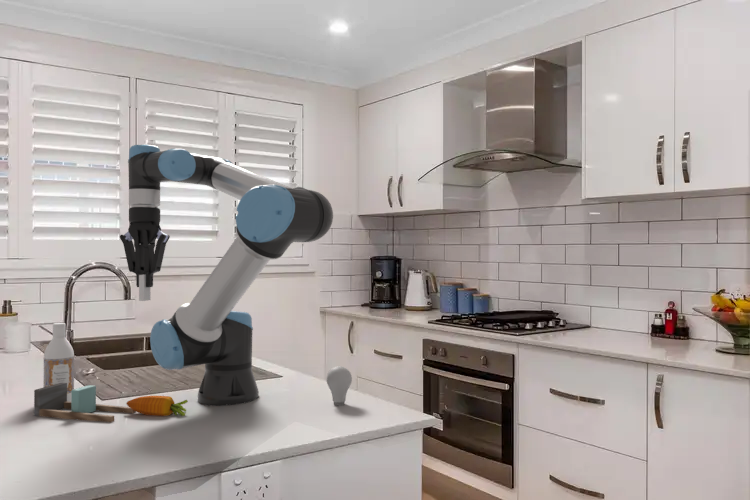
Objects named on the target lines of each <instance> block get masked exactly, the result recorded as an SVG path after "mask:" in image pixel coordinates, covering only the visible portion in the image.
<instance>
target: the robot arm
mask: <svg viewBox="0 0 750 500" xmlns="http://www.w3.org/2000/svg"><path fill="white" fill-rule="evenodd" d="M127 160H128V161H127V164H128V205H129V206H130V207H129V208H128V221H129V227H128V231H127V232H125V233H124V234H120V235H119V238H120V239H119V240H120V241H121V242H122V244H123V247H124V248H123V249H124V252H125V253H124V254H125V258H126V264H127V268H128V271H129V272H130V273H133V274H134V275H136V278H135V279H136V282H135V283H136V285H135V286H136V288H138V301H139V302H145V301H151V288H153V286H154V274H156V273H158V272H161V268H162V265H163V260H164V256H165V255H164V254H165V250H166V247H167V243H168V241H169V240H170V238H171V235H170V234H167V233H165V232H163V231H162V227H161V226H160V222H161V208H159V206H161V183H165V182H166V183H167V182H168V183H169V182H174V183H184V184H191V185H193V184H194V185H202V186H207V187H210V188H213V189H215V190H218V191H219V192H221V193H224V194H226V195H229V196H230V197H232V198H234V199H237V200H239V202H238V204H237V207H236V211H237V214H236V215H235V224H236V227H235V233H236V235H237V236H236V238H235V239H234V240H233V242H232V243H231V245H230V246H229V247H228V249H227V250H226V252H225V253H224V254H223V256H222V258H221V259H220V260H219V262H218V264H217V265H216V266H215V267H214V269H213V270H212V271H211V273H210V275H209V276H208V277H207V279H206V280H205V282H204V283H203V285H202V286H201V287H200V289H199V290H198V291H197V292H196V294H195V296H194V297H193V299H192V300H191V301H190V302H186V303H183V304H182V305H180V306H179V307H178V308H177V309H176V311H175V312H174V313H173V315H172V316H171V318H169V319H161V320H159V321H157V322H155V323H154V324H153V326H152V328H151V332H150V337H149V342H150V343H149V344H150V349H151V353H152V356H153V358H154V360H155V361H156V363H157V364H158V366H160V368H163V369H164V370H168V371H173V370H182V369H186V368H191V367H197V366H201V365H204V367H205V368H204V369H205V370H204V373H203V375H202V376H203V377H202V379H201V384H200V386H199V389H198V392H197V402H198V403H199V404H201V405H205V406H215V407H221V406H222V407H224V406H225V407H226V406H235V405H241V404H242V405H243V404H246V403H250V402H253V401H255V400H257V399H258V398H259V392H260V391H259V387H258V385H257V381H256V379H255V375H254V372H253V366H252V365H253V362H252V361H253V331H254V328H253V322H252V321H253V318H252V316H251V314H250V313H249V312H245V311H235V310H233V309H234V308H235V307H236V305H237V304H238V303H239V301H240V300H241V299H242V297H243V296H244V295H245V293H246V292H247V291H248V289H249V288H250V287H251V285H252V284H253V283H254V282H255V280H256V279H257V278H258V276H259V275H260V274H261V273H262V271H263V270H264V268H265V267H266V266H267V264H268V263H269V261H270V260H278V259H279V258H281V257H282V256H283V255H284V254H285V252H286V251H287V250H288V248H289V247H290V246H291V245H292V244H293V243H310V242H311V243H312V242H316V241H317V240H319V239H322V238H323V237H324V236H325V235H326V234H328V232H329V230H330V229H331V226H332V225H333V219H334V210H333V208H332V205H331V203H330V201H329V200H328V198H327V197H325V195H324V194H322V193H321V192H318V191H315V190H312V189H307V188H305V187H301V186H295V187H290V186H287V185H285V184H282V183H280V182H278V181H274V180H273V179H270V178H267V177H265V176H263V175H260V174H257V173H255V172H252V171H249V170H248V169H245V168H242V167H240V166H237V165H235V164H233V162H232V161H230V160H229V159H227V158H223V157H219V156H210V155H209V156H208V155H202V154H197V153H190V152H189V151H188V150H186V149H184V148H170V149H167V150H161V149H160V147H158V145H157V146H156V145H153V144H152V145H151V144H133V145H132V146H130V147H129V149H128V159H127Z"/></svg>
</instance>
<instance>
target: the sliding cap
mask: <svg viewBox="0 0 750 500" xmlns="http://www.w3.org/2000/svg"><path fill="white" fill-rule="evenodd" d="M96 404H97V385H93V384H91V385H90V384H89V385H85V386H81V387H78V388H74V390H72V398H71V409H70V411H72V412H82V413H94V412H96Z"/></svg>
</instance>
